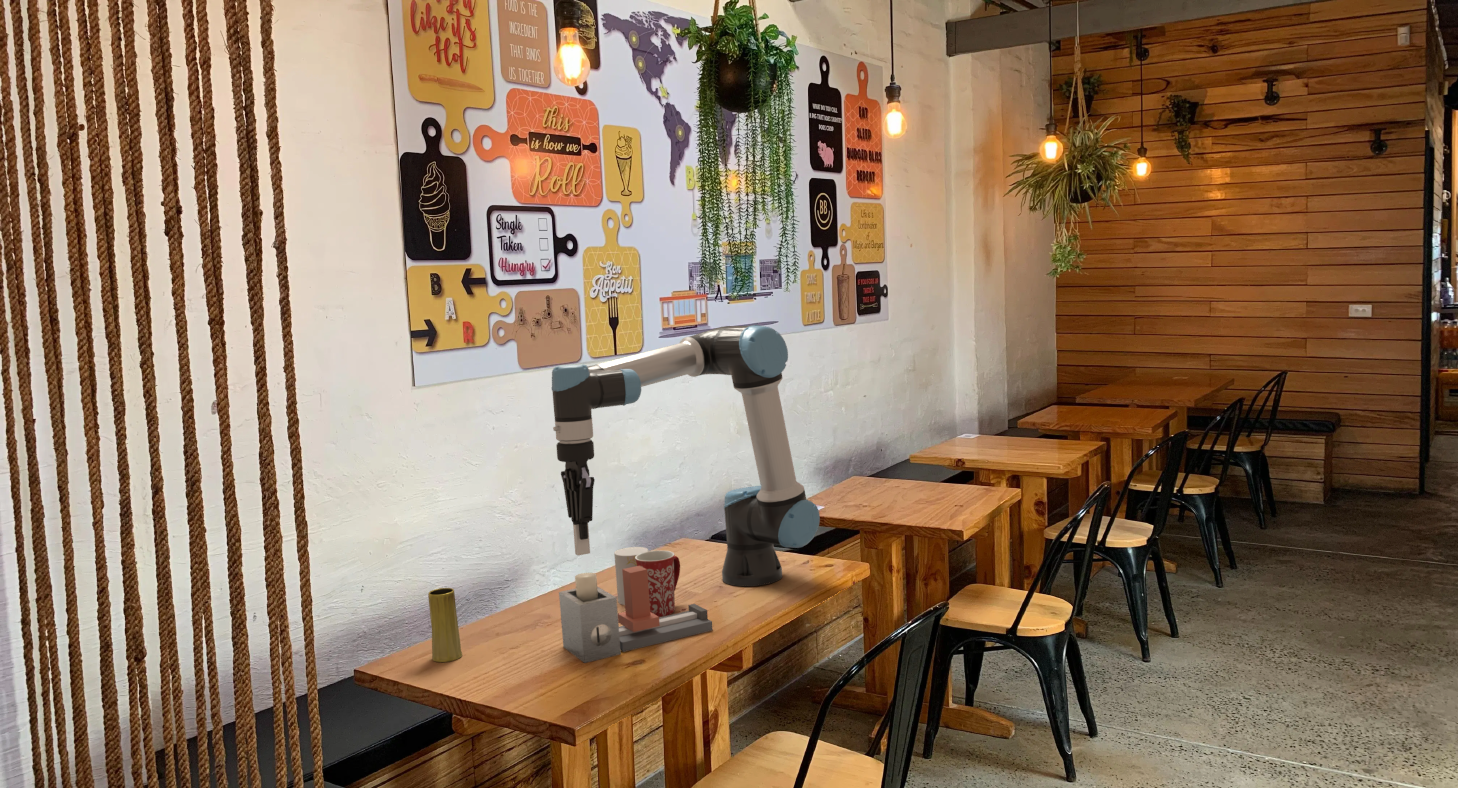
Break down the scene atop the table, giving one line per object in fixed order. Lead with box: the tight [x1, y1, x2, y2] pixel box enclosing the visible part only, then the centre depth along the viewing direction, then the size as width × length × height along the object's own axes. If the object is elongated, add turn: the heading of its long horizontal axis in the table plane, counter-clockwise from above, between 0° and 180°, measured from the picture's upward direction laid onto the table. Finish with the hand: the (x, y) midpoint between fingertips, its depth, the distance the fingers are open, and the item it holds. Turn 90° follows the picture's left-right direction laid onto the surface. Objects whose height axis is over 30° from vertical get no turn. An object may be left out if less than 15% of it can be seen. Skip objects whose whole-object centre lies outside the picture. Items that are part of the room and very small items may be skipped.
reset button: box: [574, 572, 598, 602], centre depth 221 cm, size 4×4×5 cm
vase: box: [427, 587, 463, 663], centre depth 223 cm, size 6×6×14 cm
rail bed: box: [619, 603, 713, 653], centre depth 230 cm, size 21×10×4 cm, turn 119°
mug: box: [635, 549, 681, 617], centre depth 246 cm, size 13×9×14 cm
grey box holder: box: [558, 586, 622, 664], centre depth 222 cm, size 8×13×12 cm, turn 29°
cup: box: [614, 546, 649, 606], centre depth 256 cm, size 8×8×12 cm
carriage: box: [618, 566, 660, 632], centre depth 227 cm, size 6×8×12 cm
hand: (582, 553), depth 220 cm, fingers closed
